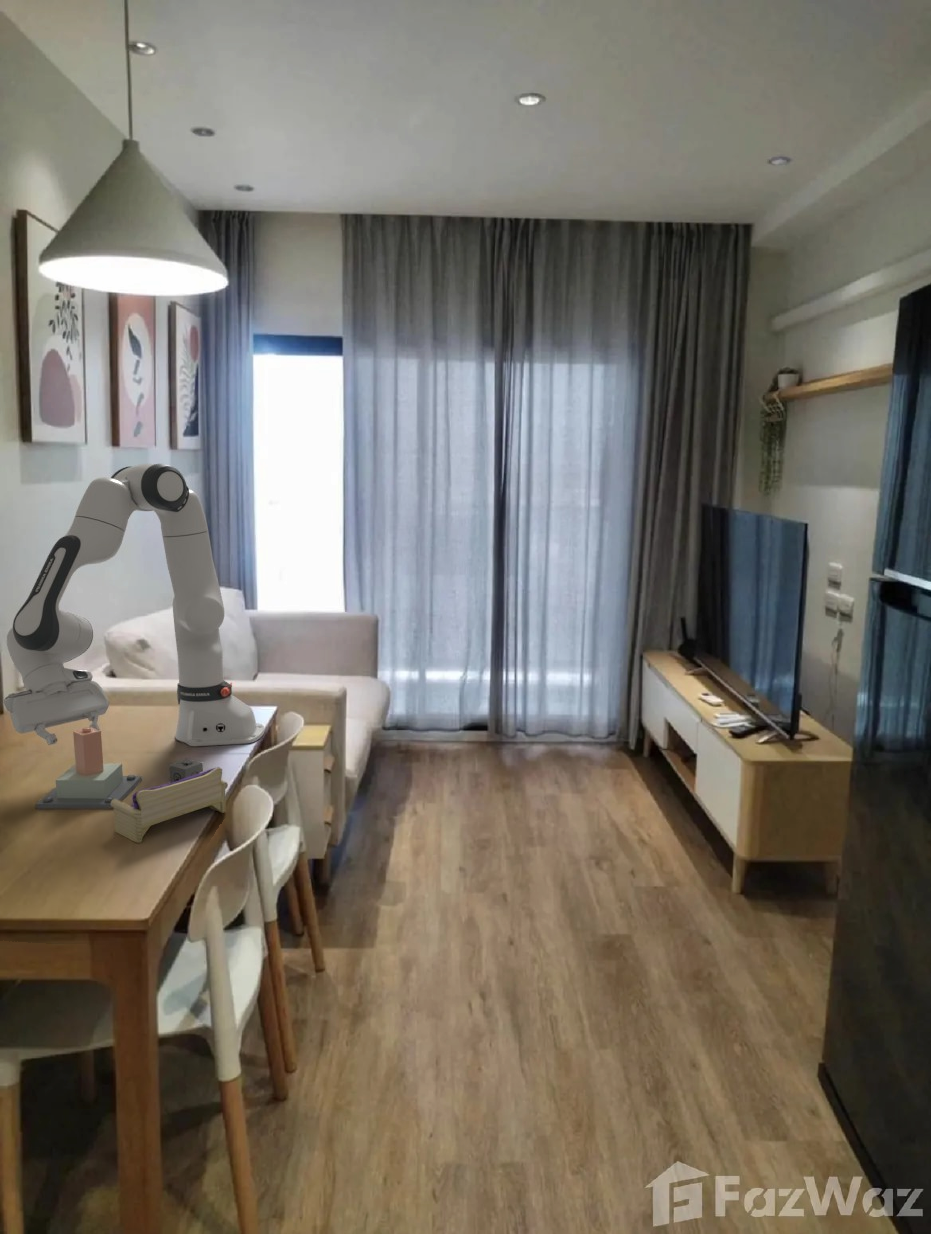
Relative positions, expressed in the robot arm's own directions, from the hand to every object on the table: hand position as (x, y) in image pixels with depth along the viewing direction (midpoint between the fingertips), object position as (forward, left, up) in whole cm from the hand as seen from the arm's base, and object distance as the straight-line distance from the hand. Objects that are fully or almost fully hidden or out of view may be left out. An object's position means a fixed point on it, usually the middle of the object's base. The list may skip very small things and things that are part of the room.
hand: (74, 737), depth 186 cm
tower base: (-4, +4, -11) cm, 13 cm away
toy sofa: (-26, +18, -12) cm, 33 cm away
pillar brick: (-4, +4, -6) cm, 8 cm away
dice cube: (-23, -2, -12) cm, 26 cm away
